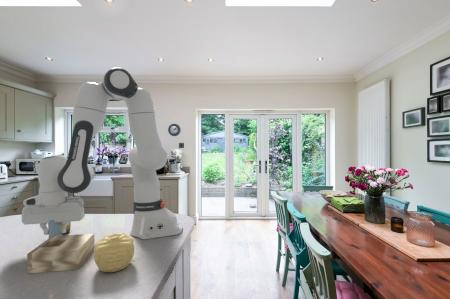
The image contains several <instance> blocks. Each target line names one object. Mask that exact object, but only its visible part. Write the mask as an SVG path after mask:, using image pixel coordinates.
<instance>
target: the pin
mask: <svg viewBox="0 0 450 299" xmlns="http://www.w3.org/2000/svg"><path fill="white" fill-rule="evenodd" d="M47 228H48V232H49V234H48V239H49V238H50V237H52V236H63V234H60V229H61V222H57V223H56V222H55V221H54V220H50V222H49V223H47Z"/></svg>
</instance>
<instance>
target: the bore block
mask: <svg viewBox="0 0 450 299" xmlns="http://www.w3.org/2000/svg"><path fill="white" fill-rule="evenodd" d="M94 245H95V233H83V234H82V233H80V234H68V235H66V234H63V235H62V236H52V237H50V238H49V237H48V238H47V239H46V240H45V241H43V242H42V243H40V244H39V245H38V246H36V247H35V248H34V249H31V251H29V252H28V253H27V254H26V255H27V256H26V258H27V259H26V263H27V264H26V267H27V268H26V271H27V272H26V273H27V274H36V273H48V272H59V271H61V272H62V271H68V270H69V271H70V270H79V269H80V268H81V267H82V265H83V264H84V263H85V261H87V259H88V258H89V257H90V256H91V254H92V253H93V252H95V247H94Z"/></svg>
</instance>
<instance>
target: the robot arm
mask: <svg viewBox="0 0 450 299" xmlns="http://www.w3.org/2000/svg"><path fill="white" fill-rule="evenodd" d="M119 101H124V103H125V105H126V107H127V116H128V124H129V125H128V126H129V131H130V134H131V136H132V138H133V140H134V143H135V146H134V147H133V148H132V149H130V151H129V152H128V155H127V156H128V157H127V158H128V161H129V164H130V168H131V169H130V170H131V176H132V179H133V202H132V214H133V219H132V226H131V229H130V232H129V234H130V236H131V237H136V238H139V239H141V240H150V239H156V238H164V237H169V236H171V237H172V236H177V235H180V234H181V233H182V232H183V225H182V223H180V222H178V219H177V216H176V213H174V212H173V211H171V210H169V209H168V208H167V207H165V206H166V202H165V200H164V199H161V183H160V180H159V177H158V174H157V171H158V170H160V169H162V168H164V166H166V164H167V162H168V153H167V152H166V150H165V149H164V147H163V145H162V142H161V139H160V136H159V133H158V129H157V121H156V116H155V115H156V114H155V107H154V102H153V99H152V95H151V94H150V92H149V90H147V89H145V88H143V87H142V88H141V87H139V85H138V83H137V82H136V81H135V80H134V77H132V75H131V74H130V72H129V71H128V70H126V69H124V68H122V67H112V68H111V69H108V70H107V71H106V72H105V74H104V77H103V80H102V81H101V82H98V83H96V82H92V81H90V82H89V81H87V82H84V83H82V84H81V85H80V87H79V89H78V92H77V95H76V97H75V102H74V105H73V112H72V132H71V134H72V136H71V139H70V141H71V142H70V144H69V150H68V155H67V156H65V155H64V154H55V155H52V156H51V155H50V156H46V157H43V158H42V159H41V160H39V163H38V171H37V172H38V173H37V175H38V176H37V177H38V178H37V180H38V183H39V189H38V194H36V195H34V196H31V197H29V198H26V199H24V200H23V201H22V202H23V203H22V204H23V206H24V207H23V208H22V210H21V222H22V224H23V225H24V226H25V225H26V226H27V225H38V224H39V227H40V229H41V230H42V231H43V235H44V236H45V235H46V236H47V235H48V236H49V232H48V223H49V222H50V220H54V221H55V222H56V223H57V222H62V224H63V225H64V226H63V228H61V229H60V234H62V233H65V232H66V227H67V225H68V224H69V222H71V223H72V222H80V221H82V220H83V219H84V218H85V214H86V213H85V207H84V205H85V201H84V198H83V197H80V196H78V195H77V196H69V195H68V194H78V193H82V192H83V191H85V190H86V189H87V188H88V187H89V186H90V184H91V183H92V181H93V180H94V178H95V175H96V174H95V173H96V172H95V168H93V166H92V165H90V164H89V157H90V152H91V151H90V150H91V148H92V142H93V140H94V138H95V136H97V134H98V133H99V132H100V131H101V130H102V128H103V125H104V122H105V119H106V113H107V107H108V103H109V102H119ZM62 235H63V234H62Z"/></svg>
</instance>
